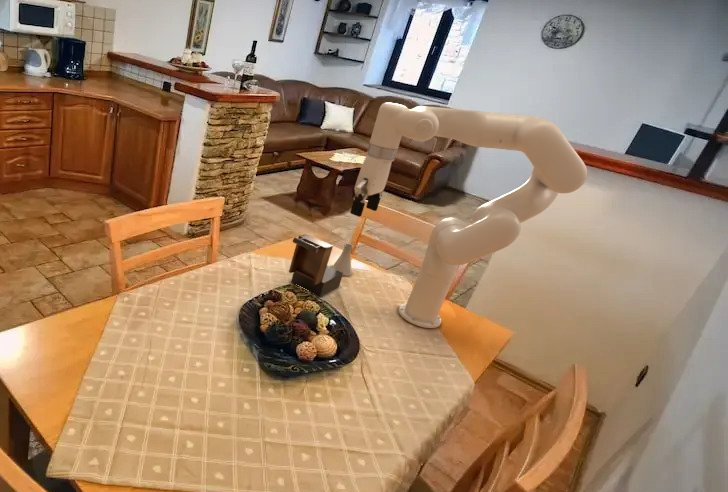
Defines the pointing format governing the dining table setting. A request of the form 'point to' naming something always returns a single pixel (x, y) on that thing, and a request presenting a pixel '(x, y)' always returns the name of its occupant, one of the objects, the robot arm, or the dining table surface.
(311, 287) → the stand
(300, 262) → the basket
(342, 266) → the flask
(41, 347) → the dining table surface
